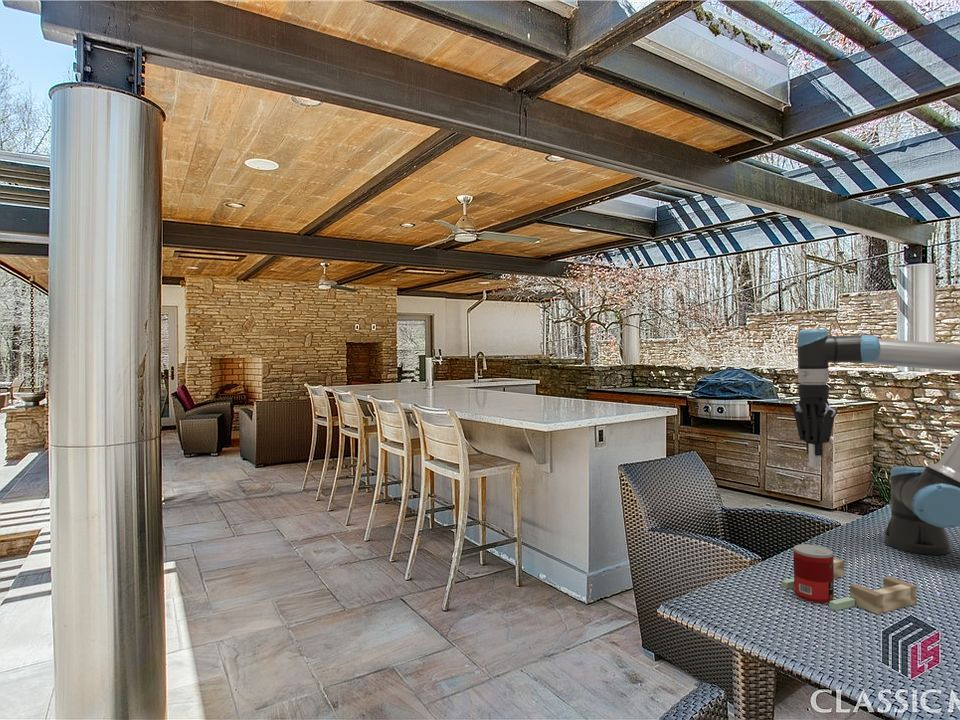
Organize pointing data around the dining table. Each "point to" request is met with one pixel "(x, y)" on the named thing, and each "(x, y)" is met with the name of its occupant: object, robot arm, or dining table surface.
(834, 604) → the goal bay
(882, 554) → the dining table surface
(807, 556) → the canned food
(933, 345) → the robot arm
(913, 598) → the lane
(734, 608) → the dining table surface
